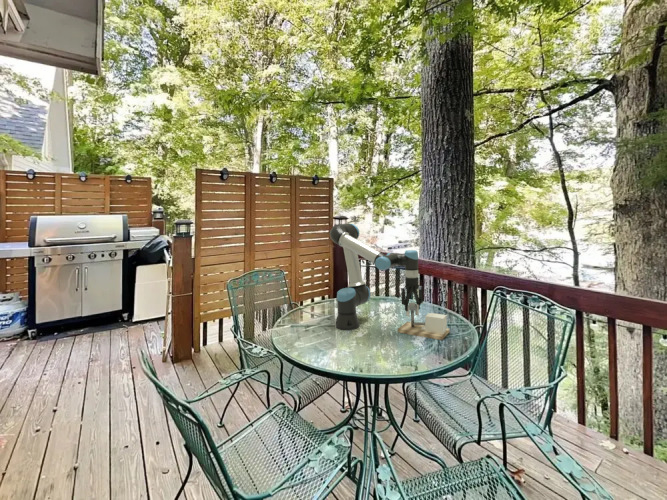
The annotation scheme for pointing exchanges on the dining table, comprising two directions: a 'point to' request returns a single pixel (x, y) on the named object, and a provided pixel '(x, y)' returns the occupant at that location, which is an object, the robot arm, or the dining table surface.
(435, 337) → the base plate
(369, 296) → the robot arm
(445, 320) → the cream rectangular block
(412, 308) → the t key
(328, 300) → the dining table surface
